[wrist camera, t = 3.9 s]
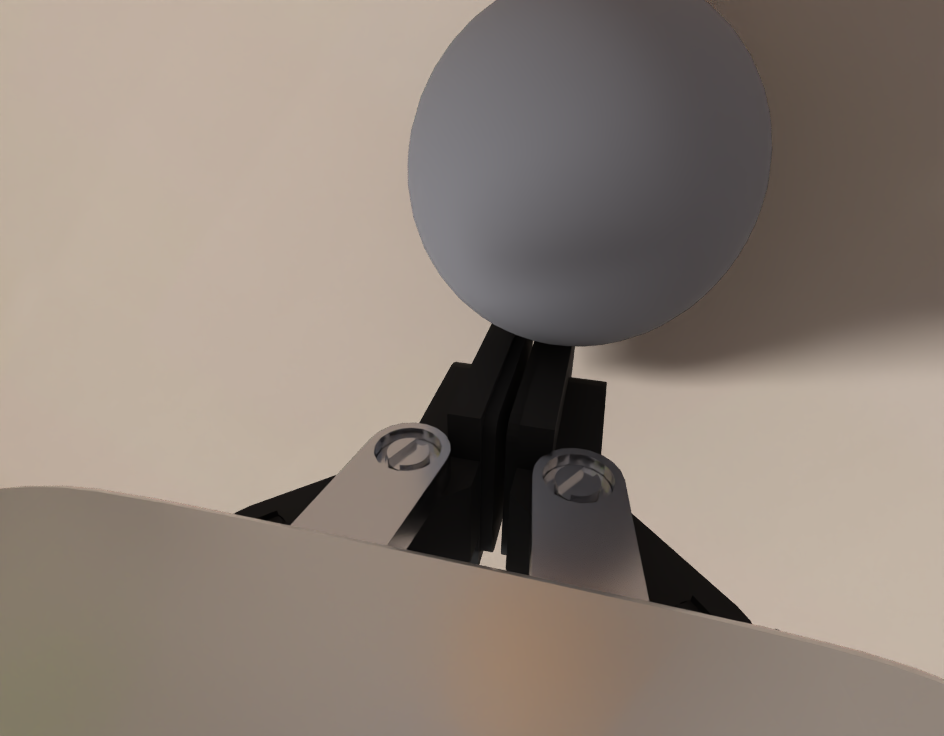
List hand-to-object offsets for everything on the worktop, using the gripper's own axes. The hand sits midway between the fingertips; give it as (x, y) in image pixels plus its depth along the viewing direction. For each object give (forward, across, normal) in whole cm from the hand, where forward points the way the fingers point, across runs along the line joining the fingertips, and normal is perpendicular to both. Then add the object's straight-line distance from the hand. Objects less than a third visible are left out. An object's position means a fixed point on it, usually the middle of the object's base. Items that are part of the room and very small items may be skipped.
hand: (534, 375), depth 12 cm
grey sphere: (-1, -1, -4) cm, 5 cm away
